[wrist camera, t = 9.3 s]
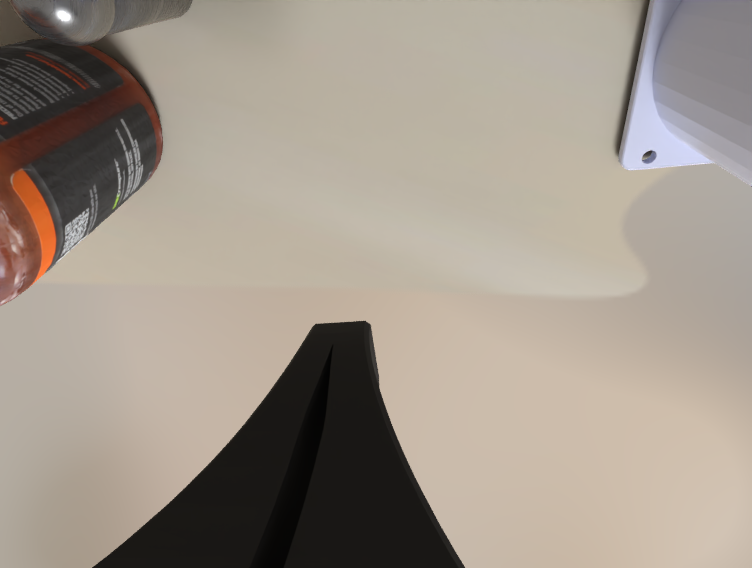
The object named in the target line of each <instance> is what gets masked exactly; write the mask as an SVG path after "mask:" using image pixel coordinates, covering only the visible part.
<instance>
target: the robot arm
mask: <svg viewBox="0 0 752 568" xmlns="http://www.w3.org/2000/svg"><path fill="white" fill-rule="evenodd" d="M650 150H652V154H651V156H650V157H649V158H647V159H645V160H642V157H643V155H644V154H645V153H646V152H647V151H650ZM618 157H619V163H620V165H621V166H623V167H624V168H625V169H627V170H641V169H652V168H663V167H674V166H685V165H696V164H706V163H715V164H717V165H719V166H720V167H722V168H723V169H725V170H726V171H728V172H729V173H731V174H733V175H734V176H736V177H737V178H739V179H741V180H742V181H744V182H745V183H747V184H748V185H750V186H751V187H752V0H650V3H649V8H648V13H647V18H646V23H645V28H644V33H643V38H642V43H641V48H640V53H639V58H638V63H637V68H636V73H635V77H634V82H633V87H632V92H631V97H630V102H629V107H628V112H627V117H626V122H625V127H624V132H623V137H622V142H621V147H620V151H619V156H618ZM92 568H465V567H464V565H463V564H462V562H461V560H460V559H459V557H458V555H457V554H456V552H455V550H454V549H453V547H452V545H451V543H450V542H449V540H448V538H447V536H446V535H445V533H444V531H443V529H442V528H441V526H440V524H439V522H438V521H437V519H436V517H435V515H434V513H433V511H432V509H431V507H430V505H429V503H428V502H427V500H426V498H425V496H424V494H423V492H422V490H421V488H420V486H419V484H418V482H417V480H416V478H415V477H414V474H413V472H412V470H411V468H410V466H409V464H408V461H407V459H406V457H405V455H404V453H403V451H402V448H401V446H400V443H399V441H398V439H397V436H396V434H395V431H394V429H393V426H392V424H391V421H390V418H389V416H388V413H387V410H386V407H385V405H384V402H383V398H382V395H381V392H380V389H379V375H378V369H377V363H376V357H375V350H374V344H373V337H372V331H371V325H370V324H369V323H367V322H366V321H356V322H340V323H324V324H315V325H314V326H313V327H312V329H311V330H310V332H309V333H308V335H307V337H306V338H305V340H304V342H303V343H302V345H301V346H300V348H299V349H298V351H297V353H296V354H295V356H294V357H293V359H292V360H291V362H290V363H289V365H288V366H287V368H286V369H285V371H284V372H283V373H282V375H281V376H280V378H279V379H278V380H277V382H276V383H275V385H274V386H273V388H272V389H271V391H270V392H269V393H268V394H267V396H266V397H265V398H264V400H263V401H262V402H261V404H260V405H259V406H258V407H257V409H256V410H255V411H254V413H253V414H252V415H251V417H250V418H249V419H248V420H247V421H246V423H245V424H244V425H243V426H242V428H241V429H240V430H239V431H238V432H237V433H236V435H235V436H234V437H233V438H232V439H231V440H230V442H229V443H228V444H227V445H226V446H225V447H224V448H223V449H222V451H220V453H219V454H218V455H217V456H216V457H215V458H214V459H213V460H212V461H211V462H210V463H209V464H208V466H206V467H205V468H204V469H203V470H202V471H201V472H200V473H199V474H198V476H197V477H195V478H194V480H192V482H191V483H190V484H188V485H187V487H186V488H185V489H183V490H182V491H181V492H180V493H179V494H178V495H177V496H176V497H175V498H174V499H173V500H172V501H171V502H170V503H169V504H168V505H166V506H165V507H164V508H163V509H162V510H161V511H160V512H158V513H157V514H156V515H155V516H154V517H153V518H152V519H150V520H149V521H148V522H147V523H146V524H145V525H144V526H142V527H141V528H140V529H139V530H138V531H137V532H136V533H134V534H133V535H132V536H131V537H130V538H129V539H127V540H126V541H125V542H124V543H123V544H122V545H120V546H119V547H118V548H117V549H115V550H114V551H113V552H112V553H111V554H109V555H108V556H107V557H106V558H104V559H103V560H102V561H100V562H99V563H98V564H96V565H95V566H94V567H92Z"/></svg>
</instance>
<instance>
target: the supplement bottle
mask: <svg viewBox="0 0 752 568" xmlns="http://www.w3.org/2000/svg"><path fill="white" fill-rule="evenodd" d="M162 148H163V137H162V128H161V124H160V120H159V118H158V115H157V113H156V110H155V108H154V106H153V104H152V102H151V100H150V98H149V97H148V95H147V94H146V92H145V91H144V89H143V88H142V87H141V85H140V84H139V83H138V81H137V80H136V79H135V78H134V77H133V76H132V75H131V73H130V72H128V70H127V69H126V68H124V67H123V66H122V65H120V64H119V63H118V62H117V61H115V60H114V59H113V58H111V57H109V56H108V55H106V54H105V53H103V52H101V51H99V50H97V49H95V48H93V47H91V46H89V45H84V46H69V45H63V44H59V43H56V42H53V41H51V40H49V39H47V38H44V39H37V40H28V41H24V42H19V43H15V44H11V45H6V46H2V47H0V305H3V304H5V303H7V302H9V301H11V300H12V299H14V298H15V297H17V296H18V295H19V294H21V293H22V292H24V291H25V290H26V289H28V288H29V287H30V286H31V285H32V284H33V283H34V282H35V281H37V280H38V279H39V278H40V277H41V276H42V275H43V274H44V273H46V272H47V271H48V270H50V269H51V268H52V267H53V266H54V265H55V264H56V263H57V262H58V261H60V260H61V259H62V258H63V257H64V256H65V255H66V254H67V253H68V252H70V251H71V250H72V249H73V248H74V247H75V246H76V245H77V244H79V242H81V241H82V240H83V239H84V238H85V237H86V236H87V235H88V234H90V233H91V232H92V231H93V230H94V229H95V228H96V227H97V226H98V225H99V224H100V223H101V222H103V221H104V220H105V219H106V218H108V217H109V216H110V215H111V214H112V213H113V212H114V211H115V210H116V209H117V208H118V207H119V206H121V205H122V204H123V203H124V202H125V201H126V200H127V199H128V198H129V197H131V196H132V195H133V194H134V193H135V192H136V191H138V190H139V189H140V188H141V187H142V186H143V185H144V184H145V183H146V182H147V180H149V179H150V178H151V176H152V175H153V173H154V172H155V170H156V169H157V166H158V164H159V163H160V160H161V155H162Z"/></svg>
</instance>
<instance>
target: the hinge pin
mask: <svg viewBox="0 0 752 568" xmlns="http://www.w3.org/2000/svg"><path fill="white" fill-rule="evenodd" d="M8 1H9V3H10V5H11V6H12V8H13V9H14V11H15V12H16V14H17V15H18V16H19V17H20V18H21V19H22V20H23V22H24V23H25V24H27V25H28V26H29V27H30V28H31V29H32V30H34V31H35V32H36V33H38V34H40V35H41V36H43V37H45V38H47V39H49V40H51V41H53V42H56V43H59V44H63V45H69V46H84V45H89V44H92V43H94V42H97V41H98V40H100V39H101V38H103V37H104V36H105V35H109V34H113V33H117V32H121V31H125V30H129V29H133V28H137V27H141V26H145V25H149V24H153V23H157V22H161V21H165V20H169V19H173V18H177V17H180V16H182V15H183V14H185V13H186V12H187V11H188V9H189V8H190V6H191V3H192V0H8Z"/></svg>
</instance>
